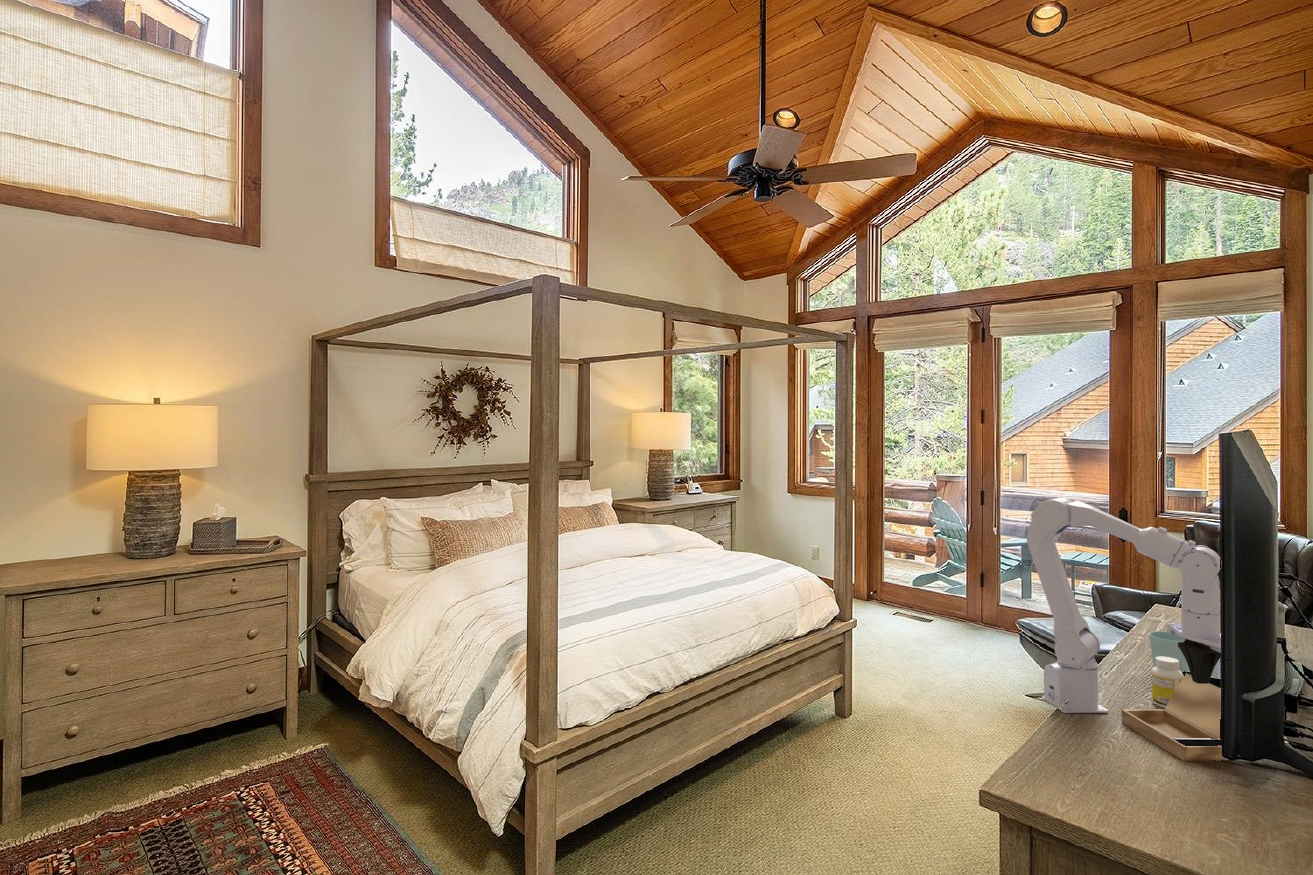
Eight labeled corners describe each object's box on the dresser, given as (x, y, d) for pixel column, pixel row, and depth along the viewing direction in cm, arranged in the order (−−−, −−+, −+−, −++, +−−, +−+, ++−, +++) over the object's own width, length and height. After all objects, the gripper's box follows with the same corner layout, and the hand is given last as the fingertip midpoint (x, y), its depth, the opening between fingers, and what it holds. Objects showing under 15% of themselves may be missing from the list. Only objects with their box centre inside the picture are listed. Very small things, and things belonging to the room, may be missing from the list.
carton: (1184, 761, 117) (1184, 746, 117) (1121, 721, 133) (1121, 709, 133) (1233, 760, 117) (1233, 746, 117) (1164, 721, 133) (1164, 709, 133)
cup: (1200, 686, 151) (1199, 640, 151) (1168, 687, 150) (1167, 641, 150) (1172, 674, 158) (1171, 630, 158) (1141, 675, 158) (1140, 631, 158)
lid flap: (1257, 705, 116) (1260, 706, 116) (1186, 672, 132) (1188, 674, 132) (1233, 746, 117) (1235, 747, 117) (1164, 708, 133) (1166, 709, 133)
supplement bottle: (1173, 700, 143) (1172, 655, 143) (1190, 710, 138) (1190, 663, 138) (1146, 699, 143) (1145, 654, 143) (1162, 710, 138) (1162, 663, 138)
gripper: (1255, 621, 119) (1255, 697, 119) (1191, 601, 133) (1191, 668, 133) (1215, 621, 119) (1216, 697, 119) (1156, 601, 133) (1156, 668, 133)
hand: (1200, 682), depth 126 cm, fingers closed
